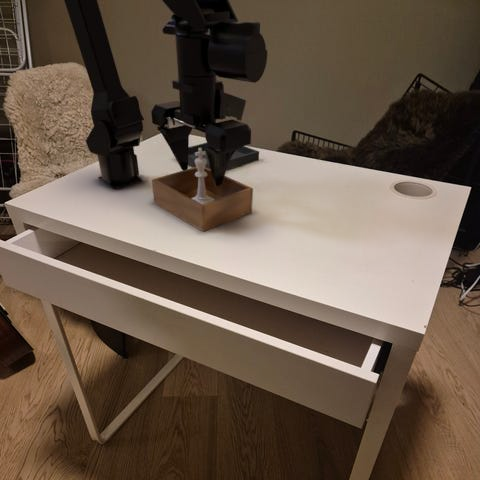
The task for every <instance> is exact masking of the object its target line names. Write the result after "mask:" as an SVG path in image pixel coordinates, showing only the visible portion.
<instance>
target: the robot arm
mask: <svg viewBox="0 0 480 480" xmlns="http://www.w3.org/2000/svg"><path fill="white" fill-rule="evenodd" d="M63 1H64V5H65V8H66V11H67V13H68V17H69V20H70V24H71V26H72V30H73V32H74V35H75V39H76V42H77V46H78V48H79V51H80V54H81V57H82V58H81V59H82V61H83V64H84V66H85V70H86V74H87V76H88V80H89V82H90V85H91V88H92V94H93V95H92V101H91V107H90V116H91V120H92V124H93V127H92V128H91V130H90V132H89V134H88V136H87V138H86V140H85V144H86V145H87V149H88V151H89V153H91V154H94V155H96V156H97V160H98V164H99V170H100V176H98V180H99V181H100V182H101V183H103V184H105V185H106V186H108V187H109V188H111V189H114V190H116V189H119V188H124V187H127V186H131V185H133V184H137V183H141V182H143V178H142V177H141V176H140V170H139V162H138V156H137V154H136V153H135V147H139V146H140V143H141V136H142V133H143V132H144V124H143V121H145V119H144V117H143V114H142V112H141V109H140V103H139V101H140V100H139V99H138V97H137V96H136V95H132V96H130V95H129V93H128V92H127V91H126V90H125V88H123V86H122V83H121V79H120V75H119V72H118V67H117V65H116V62H115V58H114V54H113V50H112V48H111V47H112V46H111V44H110V40H109V36H108V33H107V30H106V26H105V24H104V23H105V22H104V20H103V16H102V12H101V9H100V5H99V3H98V0H63ZM161 1H162V3H164V5H166V7H167V9H168V10H169V11H170V12H171V13H172V15H171V17H170V19H169V20H168V22H167V23H166V24H165V25H164V26H163V28H162V33H163V34H164V35H167V36H168V35H169V36H174V37H175V52H176V53H175V54H176V66H177V67H176V68H177V69H176V70H177V79H174V80H172V81H171V83H172V89H175V90H178V98H179V99H178V100H174V101H173V100H172V101H168V102H163V103H156V104H154V106H153V108H151V109H152V110H151V111H150V113H151V123H152V124H154V125H155V126H157V127H156V128H157V131H159V133H160V134H161V135H162V137H163V139H164V140H165V142H166V144H167V146H168V147H169V149H170V151H171V152H172V154H173V156H174V158H175V160H176V162H177V164H178V166H179V167H180V169H181V171H183V170H187V169H189V165H188V157H189V147H190V146H189V145H190V143H189V142H190V141H189V139H190V138H189V137H190V134H191V133H192V131H193V130H197V131H199V132H201V133H203V134H205V141H206V143H208V145H209V146H207V147H205V150H206V154H207V158H208V162H209V166H210V170H211V174H212V178H213V181H214V184H215V186H220V185H221V184H222V181H223V178H224V176H226V173H227V171H228V170H227V167H228V164H229V162H230V160H231V158H232V156H233V154H234V153H235V152H236V151H237V150H238V149H242V148H243V147H244V146H249V145H251V144H252V128H251V127H250V126H249V125H248V124H247V123H244V122H242V120H243V115H244V112H245V108H246V105H247V104H246V103H247V100H246V99H243V98H241V97H239V96H235V95H232V94H230V93H226V92H225V86H224V83H223V81H222V80H218V79H217V77H218V78H223V79H228V80H234V81H235V80H236V81H240V82H246V83H247V82H248V83H252V84H253V83H254V84H256V83H258V82H259V81H260V80H261V78H262V77H263V75H264V74H265V73H264V72H265V70H266V67H267V61H268V50H267V47H266V40H265V38H264V36H263V35H262V34H261V23H260V22H259V21H253V20H252V21H244V22H243V21H239V20H238V17H237V16H236V13H235V11H234V9H233V7H232V5H231V2H230V0H161ZM227 117H228V118H231V119H228V120H226V119H227ZM232 118H235V119H232ZM217 120H219V121H218V122H217ZM221 120H223V121H221Z"/></svg>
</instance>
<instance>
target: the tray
mask: <svg viewBox="0 0 480 480" xmlns="http://www.w3.org/2000/svg"><path fill="white" fill-rule="evenodd" d="M207 146H209V145H208V143H207V142H203V143H199V144H196V145H191V146H189V157H188V167H191V168H193V167H196V164H195V159H197V158H199V156H196V155H195V152H199V151H198V148H202V151H205V153H206V150H205V147H207ZM202 158H204V159H206V160H207V162H206V165H205V167H206V168H209V169H210V166H209V162H208V158H207V154H205V155H202ZM258 161H260V151H259V150H258V149H257V150H256V149H254V148H251V147H249V146H247V145H245V146H244V147H243V148H242V149H238V150H237V151H236V152H235V153H234V154H233V156H232V158H231V160H230V162H229V164H228V167H227V170H226V171H229V170H232V169H235V168H238V167H239V168H240V167H242V166H246V165H248V164H251V163H255V162H258Z"/></svg>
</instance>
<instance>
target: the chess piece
mask: <svg viewBox="0 0 480 480" xmlns="http://www.w3.org/2000/svg"><path fill="white" fill-rule="evenodd" d="M198 151H199V152H195V155H196V156H199V158H197V159H195V164H196V167H197V170H198V172H196V173H195V176H196V177H198V192H197V195H196V196H195V197H193V198H191V199H193V200H195V201H197V202H199V203H201V204H205V203H208V202H210V201H213V200H214V199H213V198H211V197H209V196H208V195H207V194H206V188H205V181H204V177H206V176H207V173H206V172H204V169H205V165H206V162H207V160H206V159H204V158H202V155H205V154H206V153H205V151H202V148H198Z"/></svg>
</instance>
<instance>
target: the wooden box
mask: <svg viewBox="0 0 480 480" xmlns="http://www.w3.org/2000/svg"><path fill="white" fill-rule="evenodd" d="M196 172H198V170H197V167H190V168H188V169H187V170H180V171H176V172H173V173H170V174H165V175H162V176H159V177H155V178H152V179H151V185H152V186H151V187H152V194H153V196H152V197H153V203H154V204H155V205H156V206H158V207H161V208H162V209H164V210H166V211H167V212H168V213H171V214H172V215H174V216H175V217H177V218H179V219H181V220H182V221H184V222H186V223H187V224H190V225H191V226H193V227H195V228H196V229H197V230H199V231H201V232H205V231H208V230H210V229H213V228H215V227H217V226H220V225H223V224H226V223H228V222H231V221H233V220H236V219H239V218H240V217H243V216H246V215H248V214H251V213H253V196H254V195H253V194H254V193H253V192H254V188H253V187H251V186H248V185H247V184H244V183H242V182H240V181H237V180H235V179H233V178H231V177H229V176H227V175H225V176H224V178H223V181H222V184H221V185H220V186H215V184H214V181H213V178H212V174H211V170H210V169H209V168H206V167H205V169H204V172H206V173H207V176H206V177H204V181H205V188H206V194H207V195H208V196H209V197H211V198H213V199H214V200H213V201H210V202H208V203H205V204H201V203H199V202H197V201H195V200H193V199H191V198H193V197H195V196H196V195H197V192H198V177H196V176H195V173H196Z"/></svg>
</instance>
